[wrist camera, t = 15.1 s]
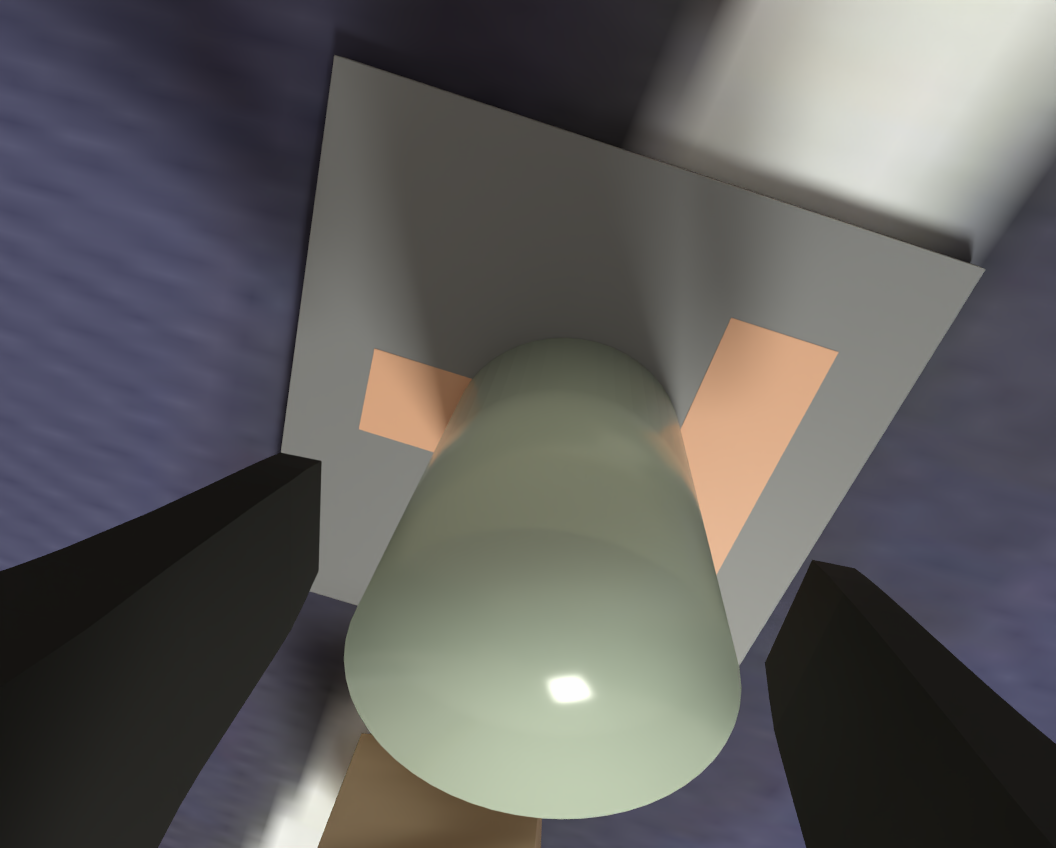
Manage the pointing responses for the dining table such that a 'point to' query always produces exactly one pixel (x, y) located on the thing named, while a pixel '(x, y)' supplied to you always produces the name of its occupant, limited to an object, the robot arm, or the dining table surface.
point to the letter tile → (592, 319)
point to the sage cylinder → (550, 598)
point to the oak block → (413, 811)
